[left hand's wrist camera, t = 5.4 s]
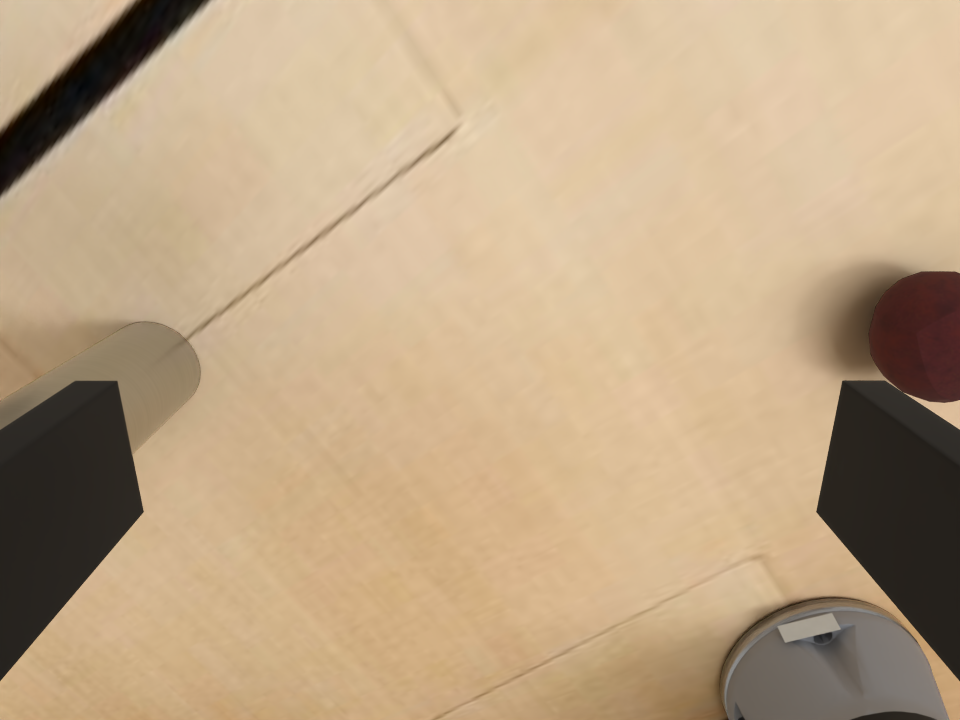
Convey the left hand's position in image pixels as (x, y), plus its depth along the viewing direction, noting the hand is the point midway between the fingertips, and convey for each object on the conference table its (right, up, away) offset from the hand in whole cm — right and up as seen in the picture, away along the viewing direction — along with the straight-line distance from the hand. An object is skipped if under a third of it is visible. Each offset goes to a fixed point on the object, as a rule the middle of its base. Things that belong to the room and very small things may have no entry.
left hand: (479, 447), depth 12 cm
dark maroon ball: (+27, +4, +30) cm, 41 cm away
